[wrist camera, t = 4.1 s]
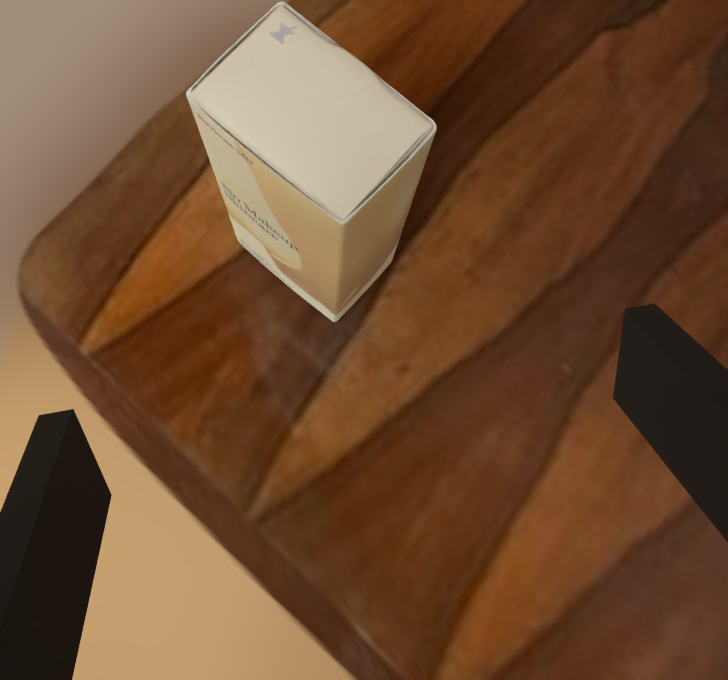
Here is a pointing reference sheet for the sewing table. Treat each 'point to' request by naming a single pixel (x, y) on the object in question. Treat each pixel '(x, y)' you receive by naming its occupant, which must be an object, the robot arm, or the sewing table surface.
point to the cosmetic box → (310, 157)
